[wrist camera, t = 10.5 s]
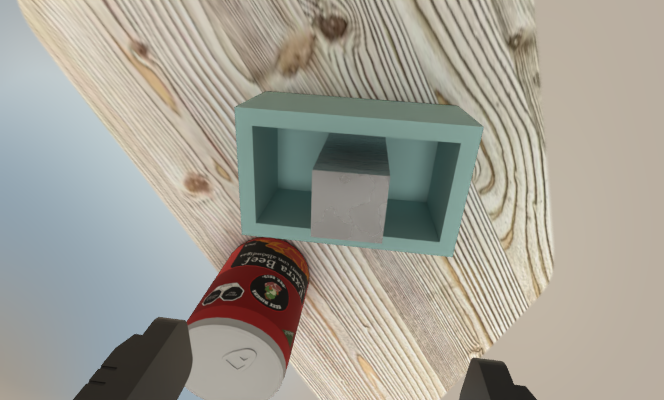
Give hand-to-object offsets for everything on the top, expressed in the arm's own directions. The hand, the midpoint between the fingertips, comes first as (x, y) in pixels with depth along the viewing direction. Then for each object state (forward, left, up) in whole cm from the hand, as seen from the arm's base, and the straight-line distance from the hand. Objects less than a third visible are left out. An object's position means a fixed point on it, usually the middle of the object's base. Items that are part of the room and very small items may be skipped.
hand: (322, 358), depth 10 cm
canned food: (+12, -7, -20) cm, 24 cm away
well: (0, 0, -19) cm, 19 cm away
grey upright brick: (0, 0, -19) cm, 19 cm away
